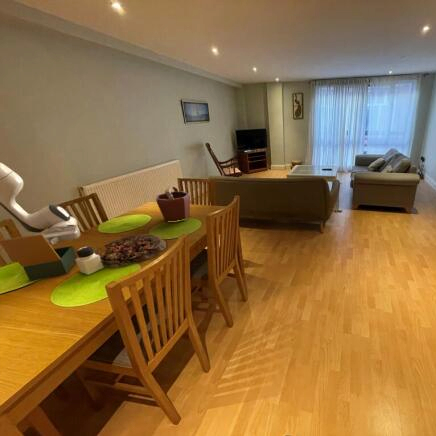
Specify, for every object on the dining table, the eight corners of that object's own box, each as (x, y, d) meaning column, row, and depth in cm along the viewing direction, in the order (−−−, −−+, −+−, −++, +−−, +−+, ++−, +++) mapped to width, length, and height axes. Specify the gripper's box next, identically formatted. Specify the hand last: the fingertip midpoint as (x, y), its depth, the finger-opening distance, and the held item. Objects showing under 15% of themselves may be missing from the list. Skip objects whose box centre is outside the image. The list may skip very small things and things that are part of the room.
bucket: (183, 225, 170) (177, 191, 161) (153, 225, 171) (144, 191, 161) (197, 213, 193) (192, 183, 183) (170, 213, 193) (163, 182, 184)
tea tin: (44, 264, 124) (38, 251, 121) (77, 258, 129) (72, 245, 126) (29, 281, 111) (22, 267, 108) (66, 273, 116) (61, 260, 113)
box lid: (-2, 240, 97) (-3, 241, 97) (42, 233, 103) (41, 235, 102) (22, 265, 108) (21, 266, 108) (60, 258, 113) (60, 259, 113)
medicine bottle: (104, 267, 121) (96, 246, 117) (88, 275, 115) (79, 253, 111) (95, 264, 124) (88, 244, 119) (79, 271, 118) (71, 250, 113)
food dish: (89, 277, 115) (83, 264, 112) (99, 249, 141) (94, 238, 138) (169, 256, 131) (165, 243, 128) (164, 234, 157) (161, 223, 154)
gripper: (31, 230, 124) (16, 242, 113) (80, 224, 132) (71, 233, 120) (36, 241, 127) (22, 253, 115) (84, 234, 134) (75, 244, 123)
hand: (48, 243), depth 118 cm, fingers closed
